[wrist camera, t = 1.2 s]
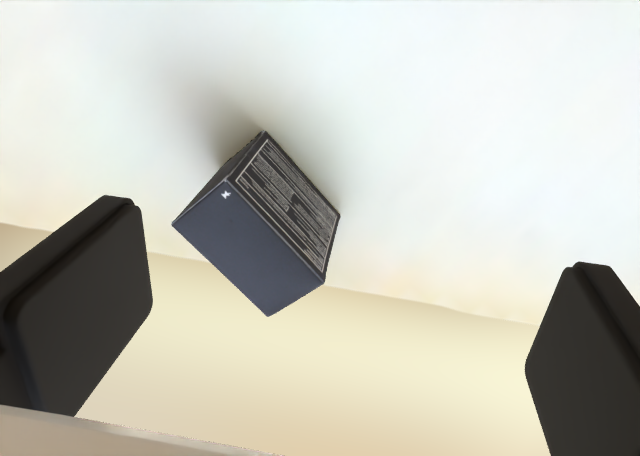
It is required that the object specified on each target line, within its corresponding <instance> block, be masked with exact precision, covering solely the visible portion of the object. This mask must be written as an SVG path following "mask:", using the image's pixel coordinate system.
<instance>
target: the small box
mask: <svg viewBox="0 0 640 456" xmlns="http://www.w3.org/2000/svg"><path fill="white" fill-rule="evenodd" d="M339 219H340V215H339V214H338V213H337V211H336V210H335V209H334V208H333V207H332V206H331V205H330V203H329V202H328V201H327V200H326V199H325V198H324V197H323V195H322V194H321V193H320V192H319V191H318V189H316V187H315V186H314V185H313V184H312V183H311V182H310V181H309V179H308V178H307V177H306V176H305V175H304V174H303V173H302V171H301V170H300V169H299V168H298V167H297V166H296V165H295V163H294V162H293V161H292V160H291V159H290V158H289V157H288V156H287V154H286V153H285V152H284V151H283V150H282V149H281V148H280V147H279V145H278V144H277V143H276V142H275V141H274V140H273V139H272V138H271V137H270V136H269V134H268V133H267V132H266V131H261V132H260V133H259V134H258V135H257V136H256V137H255V139H254V140H251V142H250V143H249V144H247V145H246V147H244V148H243V149H242V150H241V151H240V152H238V153H237V154H236V155H235V156H234V157H233V158H230V159H229V160H228V161H227V162H226V163H225V164H224V165H223V166H222V167H221V168H220V169H219V170H218V172H217V173H216V174H215V175H214V176H213V177H212V179H211V180H210V181H209V182H208V183H207V184H206V185H205V186H204V188H203V189H202V190H201V191H200V192H199V193H198V194H197V196H196V197H195V198H194V199H193V200H192V201H191V202H190V203H189V205H188V206H187V207H186V208H185V209H184V210H183V211H182V212H181V214H180V215H179V216H178V217H177V218H176V219H175V220H174V221H173V222H172V224H171V225H172V226H173V227H174V228H175V229H176V230H177V231H178V232H179V233H180V234H181V235H182V236H183V237H184V238H185V239H186V240H187V241H188V242H189V243H191V244H192V245H193V246H194V247H195V248H196V249H197V250H198V251H199V252H200V253H201V254H202V255H203V256H204V257H205V258H206V259H208V260H209V261H210V262H211V263H212V264H213V265H214V266H215V267H216V268H217V269H218V270H219V271H220V272H221V273H222V274H223V275H224V276H225V277H227V279H229V280H230V281H231V282H232V283H233V284H234V285H235V286H236V287H237V288H238V289H239V290H240V291H241V292H242V293H243V294H244V295H245V296H246V297H247V298H248V299H249V300H250V301H252V303H254V304H255V305H256V306H257V307H258V308H259V309H260V310H261V311H262V312H263V313H264V314H265V315H266V316H267V317H269V316H271V315H273V314H275V313H277V312H278V311H280V310H281V309H283V308H285V307H287V306H288V305H290V304H291V303H293V302H295V301H297V300H298V299H300V298H301V297H303V296H305V295H306V294H308V293H310V292H311V291H313V290H314V289H316V288H318V287H319V286H321V285H322V284H324V282H325V279H326V271H327V266H328V262H329V258H330V254H331V250H332V246H333V241H334V238H335V234H336V230H337V226H338V222H339Z"/></svg>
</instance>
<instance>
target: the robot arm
mask: <svg viewBox="0 0 640 456" xmlns="http://www.w3.org/2000/svg"><path fill="white" fill-rule="evenodd" d="M150 283H151V282H150V275H149V267H148V260H147V252H146V244H145V237H144V229H143V221H142V214H141V210H140V208H139V207H138V206H135V205H134V202H133V201H132V200H131V199H129V198H122V197H115V196H108V195H104V196H102V197H100V198H99V199H98V200H96V201H95V202H94V203H92V204H91V205H90V206H88V207H87V208H86V209H84V210H83V211H82V212H80V213H79V214H78V215H76V216H75V217H74V218H72V219H71V220H70V221H68V222H67V223H66V224H64V225H63V226H61V227H60V228H59V229H57V230H56V231H55V232H53V233H52V234H51V235H50V236H48V237H47V238H46V239H44V240H43V241H41V242H40V243H39V244H37V245H36V246H35V247H33V248H32V249H31V250H29V251H28V252H27V253H25V254H24V255H23V256H21V257H20V258H19V259H17V260H16V261H15V262H13V263H12V264H11V265H9V266H8V267H7V268H5V269H4V270H3V271H2V272H0V456H283V455H278V454H272V453H267V452H262V451H256V450H251V449H246V448H240V447H235V446H230V445H224V444H219V443H214V442H207V441H203V440H197V439H192V438H186V437H181V436H175V435H169V434H165V433H159V432H154V431H148V430H143V429H136V428H132V427H126V426H121V425H115V424H110V423H104V422H98V421H92V420H88V419H82V418H77V417H74V416H75V415H76V414H77V412H78V411H79V409H80V408H81V407H82V405H83V404H84V403H85V401H86V400H87V399H88V397H89V396H90V394H91V393H92V392H93V390H94V389H95V388H96V386H97V385H98V384H99V382H100V381H101V379H102V378H103V377H104V375H105V374H106V373H107V371H108V370H109V368H110V367H111V366H112V364H113V363H114V362H115V360H116V359H117V358H118V356H119V355H120V353H121V352H122V350H123V349H124V348H125V347H126V345H127V344H128V343H129V341H130V340H131V338H132V337H133V336H134V334H135V333H136V332H137V330H138V329H139V327H140V326H141V325H142V323H143V322H144V321H145V319H146V318H147V317H148V315H149V313H150V311H151V308H152V303H153V298H152V290H151V284H150ZM525 375H526V379H527V382H528V385H529V388H530V392H531V394H532V398H533V401H534V404H535V407H536V410H537V414H538V417H539V420H540V423H541V426H542V429H543V432H544V435H545V438H546V442H547V445H548V448H549V451H550V454H551V456H640V306H639V305H638V304H637V302H636V301H635V300H634V298H633V297H632V295H631V294H630V293H629V291H628V290H627V289H626V287H625V286H624V284H623V283H622V282H621V280H620V279H619V278H618V276H617V275H616V274H615V272H614V271H613V269H612V268H611V267H609V266H606V265H599V264H592V263H585V262H577V263H575V264H574V265H573V267H567V268H565V269H564V270H563V272H562V274H561V277H560V279H559V282H558V284H557V287H556V289H555V291H554V294H553V296H552V299H551V301H550V303H549V306H548V308H547V311H546V313H545V316H544V318H543V320H542V323H541V325H540V328H539V330H538V333H537V335H536V337H535V340H534V342H533V345H532V347H531V349H530V352H529V354H528V357H527V359H526V364H525Z"/></svg>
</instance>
